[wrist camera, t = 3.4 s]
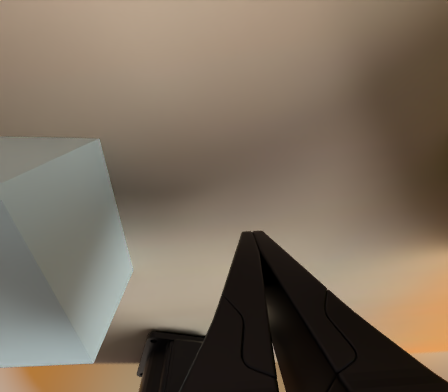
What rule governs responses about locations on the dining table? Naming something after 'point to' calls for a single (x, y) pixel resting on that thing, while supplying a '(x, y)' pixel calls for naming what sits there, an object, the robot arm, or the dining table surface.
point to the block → (57, 251)
